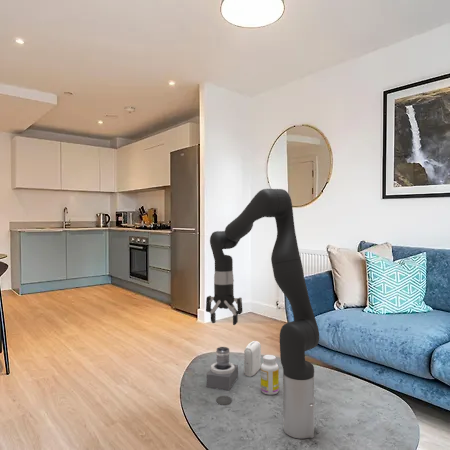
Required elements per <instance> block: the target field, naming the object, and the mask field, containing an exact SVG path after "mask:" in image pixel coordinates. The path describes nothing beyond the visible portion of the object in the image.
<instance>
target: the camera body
mask: <svg viewBox="0 0 450 450" xmlns="http://www.w3.org/2000/svg"><path fill="white" fill-rule="evenodd" d="M238 378H239V364H235V363H232V362H229V369H227V370H219V369H217V361H216V362H214V363H212V364H211V365H210V369H209V371H208V372H207V373H206V388H209V387H212V388H211V389H216V388H218V389H217V390H222V389H223V390H224V391H230V390H231V388H232V387H233V385H234V384H235V382H236V381H237V379H238ZM223 390H222V391H223Z"/></svg>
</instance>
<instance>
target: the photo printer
mask: <svg viewBox="0 0 450 450" xmlns="http://www.w3.org/2000/svg"><path fill="white" fill-rule="evenodd" d="M261 347H262V346H261V343H260V342H259V341H257V340H253V341H251V342H249V343H248V344H247V345H246V347H245V349H244V354H243V355H244V356H243V358H244V360H243V361H244V362H243V365H244V367H243V368H244V371H243V373H244V375H245V377H246V376H247V377H253V376H255V375H256V373H258V372H259V371H260V370H261V364H262V361H261V359H262V357H261V356H262V355H261V354H262V353H261Z"/></svg>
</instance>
